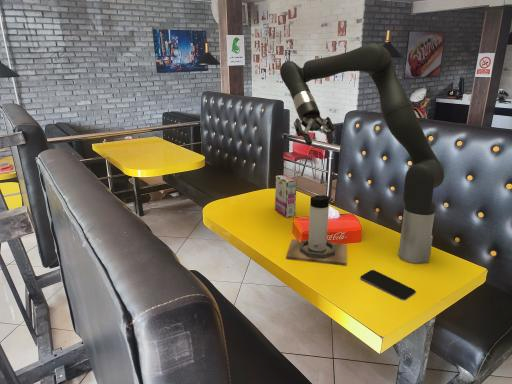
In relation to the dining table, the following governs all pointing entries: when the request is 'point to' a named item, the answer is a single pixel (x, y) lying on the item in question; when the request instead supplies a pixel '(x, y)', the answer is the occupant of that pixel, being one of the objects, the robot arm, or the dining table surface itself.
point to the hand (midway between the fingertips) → (321, 143)
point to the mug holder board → (331, 256)
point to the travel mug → (318, 223)
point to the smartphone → (388, 285)
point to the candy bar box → (285, 195)
